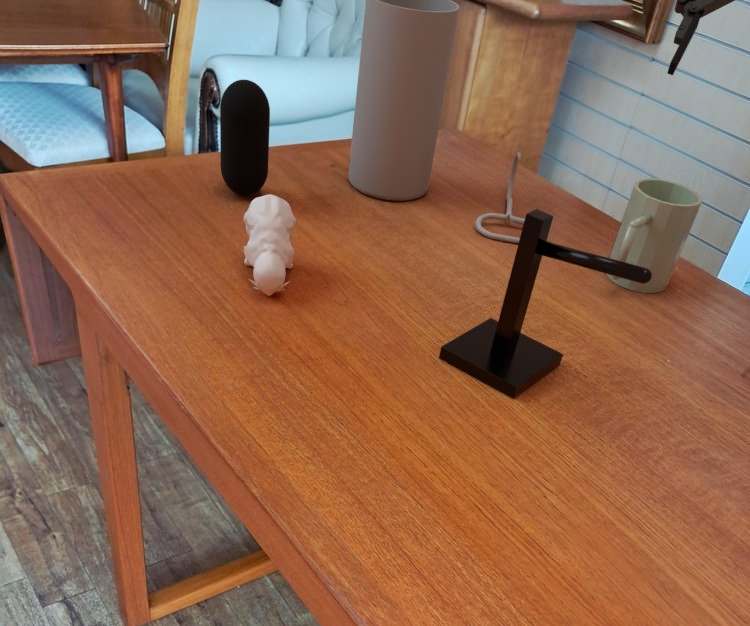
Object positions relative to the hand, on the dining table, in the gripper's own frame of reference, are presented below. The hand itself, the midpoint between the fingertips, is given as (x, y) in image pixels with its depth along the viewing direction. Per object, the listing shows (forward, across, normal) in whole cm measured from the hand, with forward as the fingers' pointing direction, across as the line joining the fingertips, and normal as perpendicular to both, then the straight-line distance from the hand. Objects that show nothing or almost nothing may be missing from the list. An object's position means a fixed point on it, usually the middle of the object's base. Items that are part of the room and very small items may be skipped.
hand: (722, 88), depth 99 cm
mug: (+24, 0, -7) cm, 25 cm away
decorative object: (+36, +54, -1) cm, 65 cm away
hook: (+20, +20, -16) cm, 33 cm away
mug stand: (+45, +4, +17) cm, 48 cm away
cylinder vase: (+24, +39, -14) cm, 48 cm away
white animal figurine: (+47, +38, +14) cm, 62 cm away
